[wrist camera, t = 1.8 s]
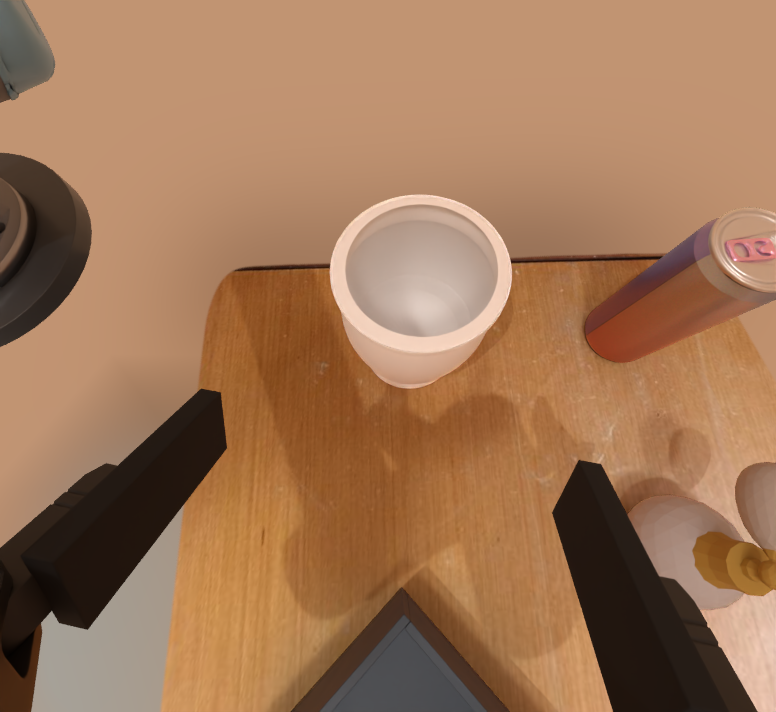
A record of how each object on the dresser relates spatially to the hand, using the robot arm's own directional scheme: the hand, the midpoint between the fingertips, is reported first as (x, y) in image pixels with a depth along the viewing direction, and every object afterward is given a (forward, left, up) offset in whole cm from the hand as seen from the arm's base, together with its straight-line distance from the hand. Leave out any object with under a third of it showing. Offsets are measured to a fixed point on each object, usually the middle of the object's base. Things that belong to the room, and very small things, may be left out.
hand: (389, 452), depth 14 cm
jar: (-6, +9, -20) cm, 23 cm away
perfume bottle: (+19, +12, -20) cm, 30 cm away
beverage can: (+7, +24, -20) cm, 32 cm away
